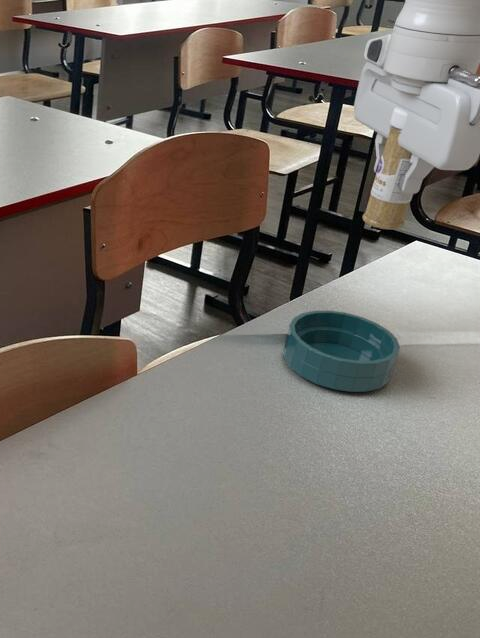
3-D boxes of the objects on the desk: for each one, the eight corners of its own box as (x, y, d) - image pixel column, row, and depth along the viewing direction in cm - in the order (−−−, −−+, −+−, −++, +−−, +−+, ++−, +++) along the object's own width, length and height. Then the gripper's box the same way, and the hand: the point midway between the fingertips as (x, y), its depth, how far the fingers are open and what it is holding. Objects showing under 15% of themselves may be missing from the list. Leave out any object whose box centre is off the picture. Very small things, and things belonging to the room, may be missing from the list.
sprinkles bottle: (355, 215, 91) (387, 103, 85) (393, 216, 91) (428, 104, 85) (371, 230, 87) (405, 114, 81) (410, 232, 87) (448, 115, 81)
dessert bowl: (359, 339, 98) (368, 309, 96) (409, 395, 88) (420, 362, 85) (267, 341, 98) (274, 310, 95) (306, 397, 87) (315, 364, 85)
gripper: (524, 80, 71) (474, 217, 78) (411, 40, 89) (378, 155, 96) (460, 79, 71) (415, 217, 78) (359, 39, 89) (330, 155, 95)
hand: (394, 182), depth 87 cm, fingers closed on sprinkles bottle, 4 cm apart
